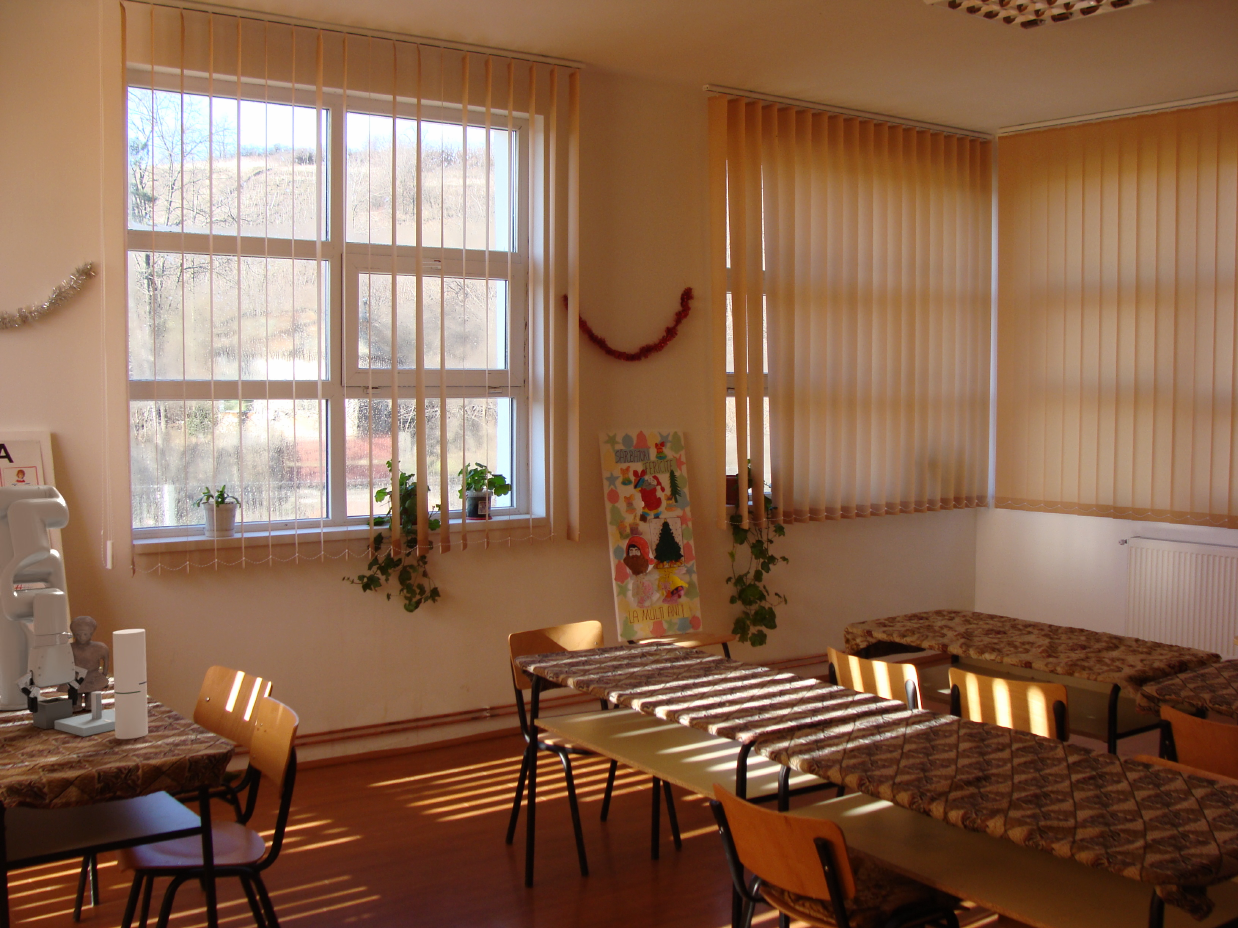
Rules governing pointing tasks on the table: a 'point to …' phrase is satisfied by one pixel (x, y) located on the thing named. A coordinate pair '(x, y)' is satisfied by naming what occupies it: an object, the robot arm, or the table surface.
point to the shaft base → (89, 719)
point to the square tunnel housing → (52, 712)
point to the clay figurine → (87, 661)
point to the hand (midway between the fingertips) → (53, 708)
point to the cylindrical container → (130, 683)
